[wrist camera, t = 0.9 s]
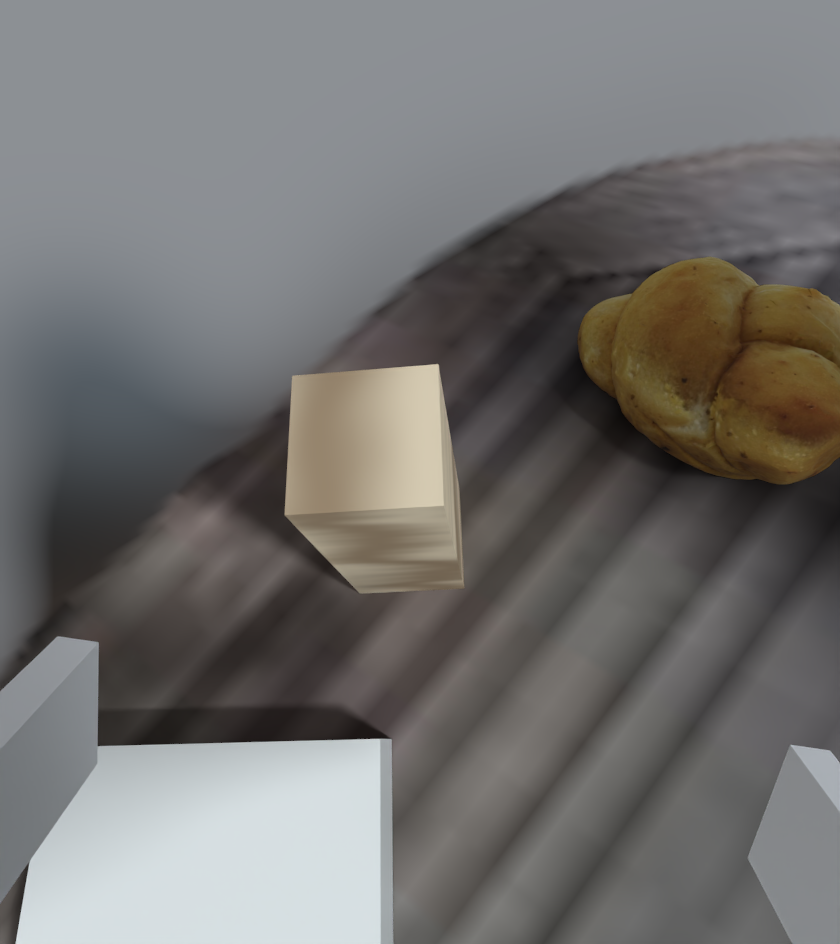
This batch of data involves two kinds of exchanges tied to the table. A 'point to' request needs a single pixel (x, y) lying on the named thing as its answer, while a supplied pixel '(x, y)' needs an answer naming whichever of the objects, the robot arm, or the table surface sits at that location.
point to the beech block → (376, 477)
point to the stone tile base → (220, 847)
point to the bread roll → (723, 369)
